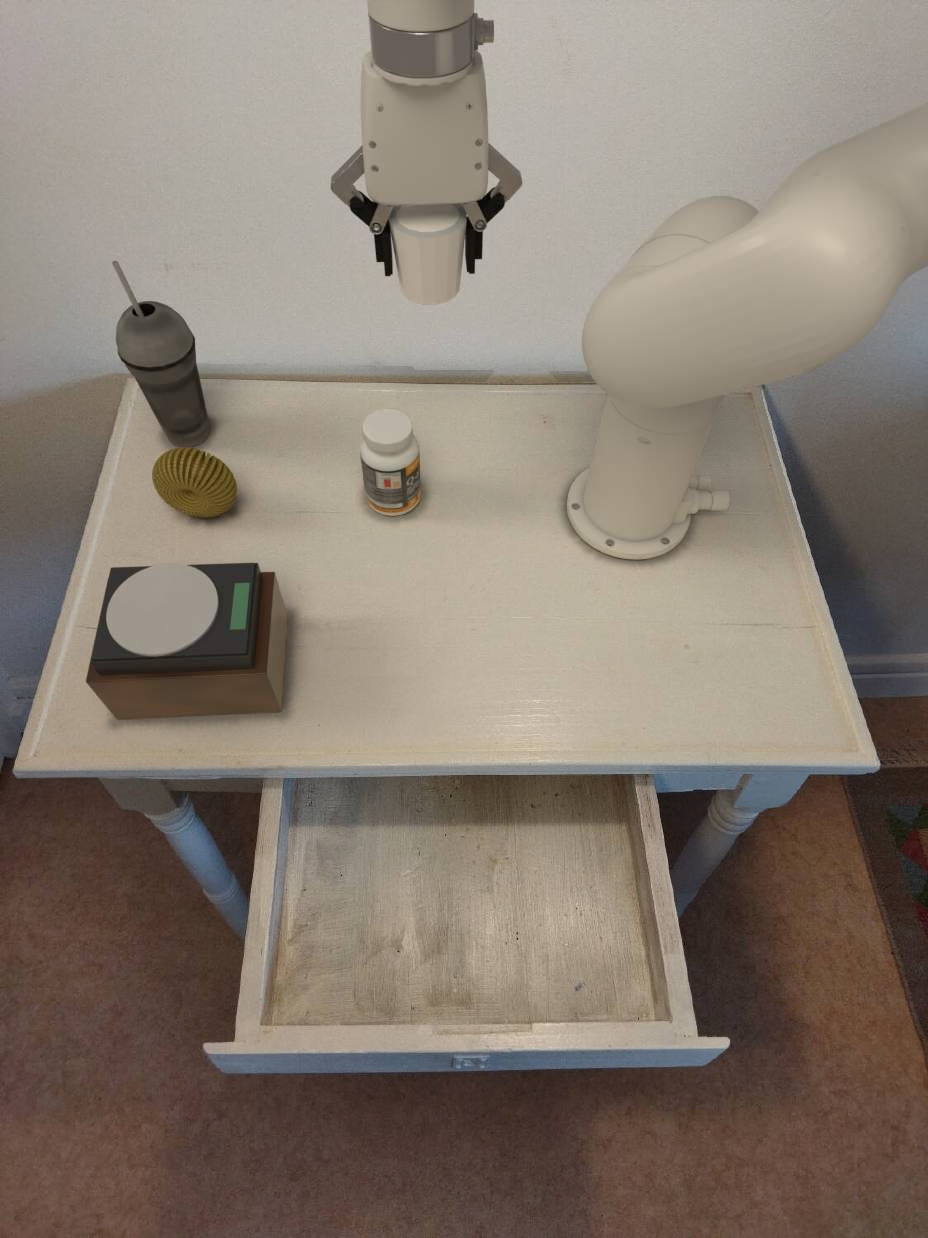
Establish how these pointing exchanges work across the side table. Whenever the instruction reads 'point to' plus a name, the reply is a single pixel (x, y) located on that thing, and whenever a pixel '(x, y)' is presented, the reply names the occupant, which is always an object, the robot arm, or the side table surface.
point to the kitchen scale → (178, 619)
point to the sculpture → (194, 482)
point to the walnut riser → (207, 677)
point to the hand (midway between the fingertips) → (429, 264)
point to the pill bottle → (390, 462)
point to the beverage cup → (163, 366)
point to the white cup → (428, 250)
